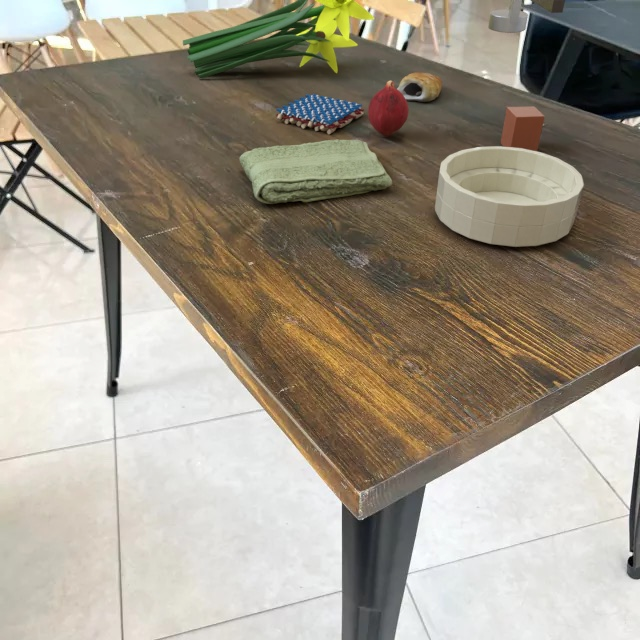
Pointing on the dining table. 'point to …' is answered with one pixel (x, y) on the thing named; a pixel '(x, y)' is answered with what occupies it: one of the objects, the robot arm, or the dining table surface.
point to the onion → (388, 110)
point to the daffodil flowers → (278, 36)
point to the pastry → (420, 87)
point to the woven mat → (320, 113)
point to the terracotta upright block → (522, 128)
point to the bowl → (508, 195)
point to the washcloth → (313, 171)
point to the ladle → (519, 15)
